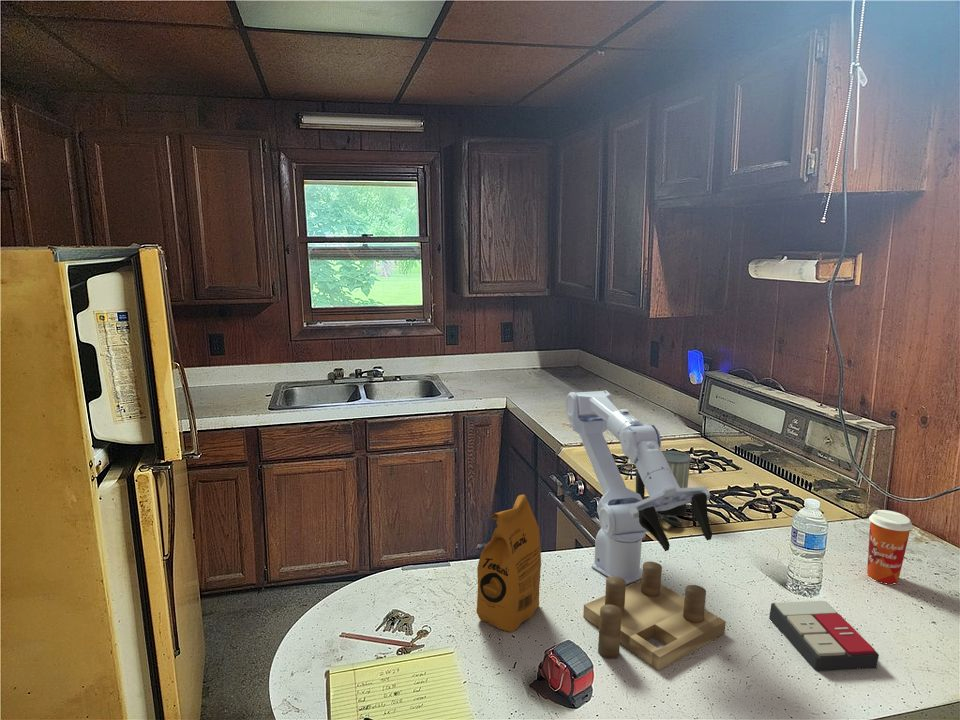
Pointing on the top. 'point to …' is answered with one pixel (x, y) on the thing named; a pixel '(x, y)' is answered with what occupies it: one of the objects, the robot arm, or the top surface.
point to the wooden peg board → (658, 616)
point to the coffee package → (510, 569)
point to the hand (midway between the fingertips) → (688, 542)
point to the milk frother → (681, 473)
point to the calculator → (823, 636)
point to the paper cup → (887, 545)
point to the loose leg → (609, 631)
